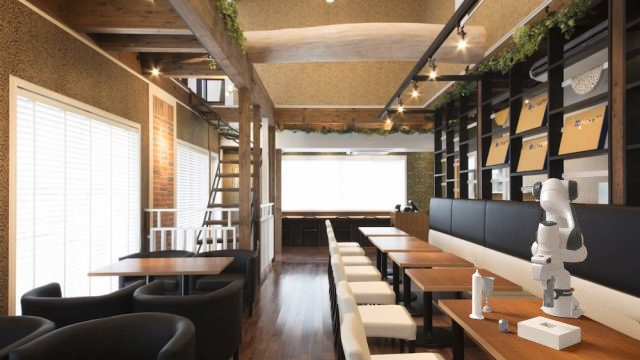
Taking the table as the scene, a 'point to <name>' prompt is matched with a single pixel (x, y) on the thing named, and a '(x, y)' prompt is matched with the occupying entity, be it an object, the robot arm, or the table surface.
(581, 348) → the table surface
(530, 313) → the table surface
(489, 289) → the chalice
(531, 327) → the hole block
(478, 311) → the candle
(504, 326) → the short pin
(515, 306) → the table surface
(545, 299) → the long pin
